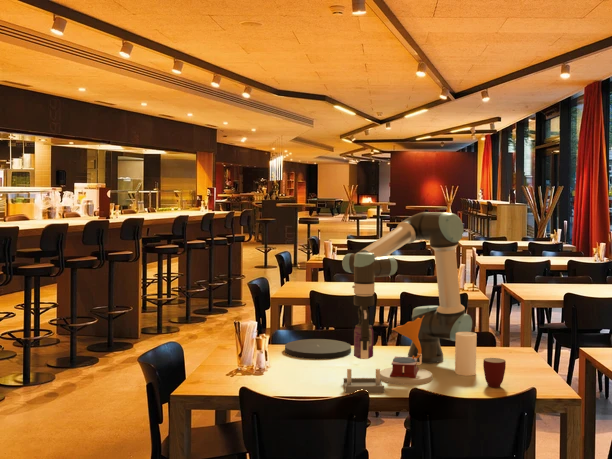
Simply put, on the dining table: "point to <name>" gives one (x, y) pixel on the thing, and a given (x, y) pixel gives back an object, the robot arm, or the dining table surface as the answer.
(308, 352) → the disc
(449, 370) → the dining table surface
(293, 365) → the dining table surface
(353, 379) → the cradle tray
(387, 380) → the gramophone
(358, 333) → the beverage can
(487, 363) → the mug
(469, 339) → the white cylinder
